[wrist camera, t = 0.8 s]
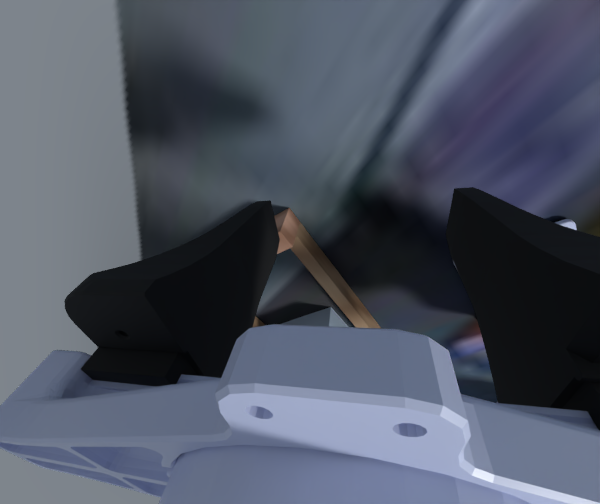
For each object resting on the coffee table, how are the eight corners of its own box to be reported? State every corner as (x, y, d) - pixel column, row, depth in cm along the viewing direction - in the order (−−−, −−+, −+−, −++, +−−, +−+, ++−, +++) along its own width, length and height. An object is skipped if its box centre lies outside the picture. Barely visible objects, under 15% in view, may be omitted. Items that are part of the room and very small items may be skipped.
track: (397, 349, 32) (400, 378, 30) (303, 369, 39) (299, 394, 36) (289, 207, 23) (280, 231, 20) (188, 263, 29) (171, 287, 27)
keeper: (362, 341, 33) (363, 373, 30) (314, 353, 36) (310, 383, 33) (331, 305, 30) (327, 336, 27) (281, 322, 33) (273, 352, 30)
